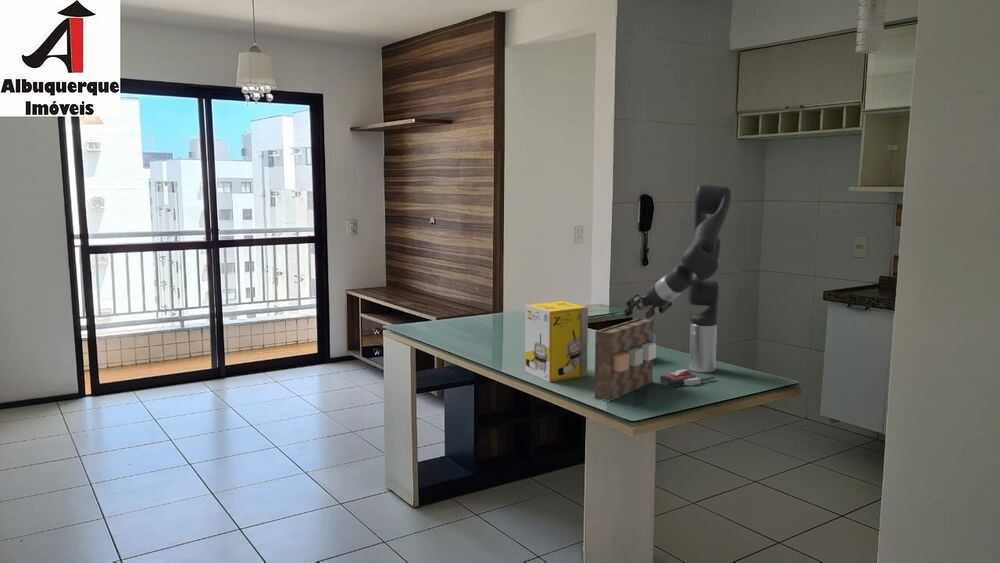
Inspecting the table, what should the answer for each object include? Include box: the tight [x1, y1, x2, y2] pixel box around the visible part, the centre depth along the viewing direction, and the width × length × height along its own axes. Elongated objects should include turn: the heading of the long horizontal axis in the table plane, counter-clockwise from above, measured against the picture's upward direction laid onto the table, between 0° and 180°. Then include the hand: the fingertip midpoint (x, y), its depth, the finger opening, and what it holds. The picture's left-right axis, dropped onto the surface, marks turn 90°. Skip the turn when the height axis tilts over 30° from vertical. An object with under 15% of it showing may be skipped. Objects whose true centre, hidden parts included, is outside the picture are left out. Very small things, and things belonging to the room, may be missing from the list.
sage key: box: [628, 347, 643, 366], centre depth 234 cm, size 5×4×5 cm
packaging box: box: [524, 300, 589, 383], centre depth 257 cm, size 16×16×25 cm
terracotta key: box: [613, 352, 629, 372], centre depth 227 cm, size 5×4×5 cm
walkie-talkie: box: [659, 368, 716, 388], centre depth 246 cm, size 9×4×20 cm
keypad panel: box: [594, 317, 655, 401], centre depth 236 cm, size 28×6×22 cm, turn 140°
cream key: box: [642, 342, 657, 361], centre depth 241 cm, size 5×4×5 cm
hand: (636, 315), depth 233 cm, fingers open, 8 cm apart
